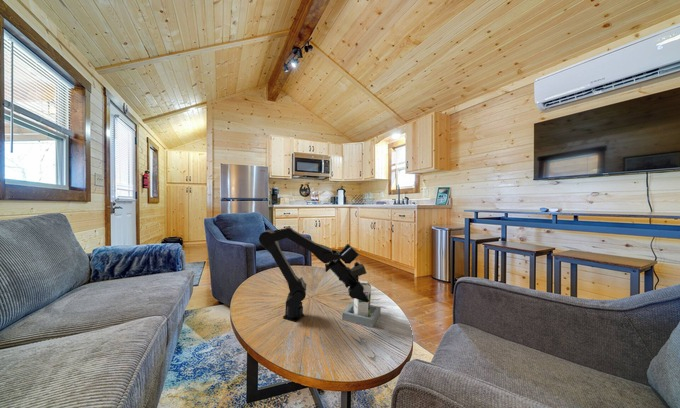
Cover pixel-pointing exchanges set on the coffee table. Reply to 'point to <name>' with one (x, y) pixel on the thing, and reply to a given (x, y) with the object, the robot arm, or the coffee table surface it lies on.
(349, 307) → the socket board
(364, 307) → the syrup box
